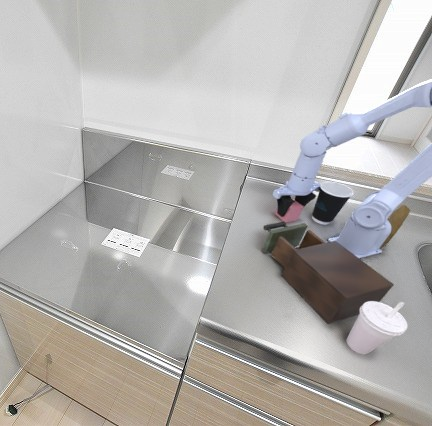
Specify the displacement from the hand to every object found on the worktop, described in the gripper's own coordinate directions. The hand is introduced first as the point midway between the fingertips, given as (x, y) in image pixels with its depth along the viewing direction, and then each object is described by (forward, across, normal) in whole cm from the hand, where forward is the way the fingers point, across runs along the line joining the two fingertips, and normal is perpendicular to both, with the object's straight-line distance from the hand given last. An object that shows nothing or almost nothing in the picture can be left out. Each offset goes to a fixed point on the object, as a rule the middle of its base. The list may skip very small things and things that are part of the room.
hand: (287, 213), depth 89 cm
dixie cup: (+2, -9, +4) cm, 10 cm away
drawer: (0, +12, +15) cm, 19 cm away
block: (+1, 0, 0) cm, 1 cm away
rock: (+2, -17, +14) cm, 22 cm away
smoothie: (+2, +16, +38) cm, 41 cm away
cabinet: (+1, +12, +26) cm, 29 cm away
